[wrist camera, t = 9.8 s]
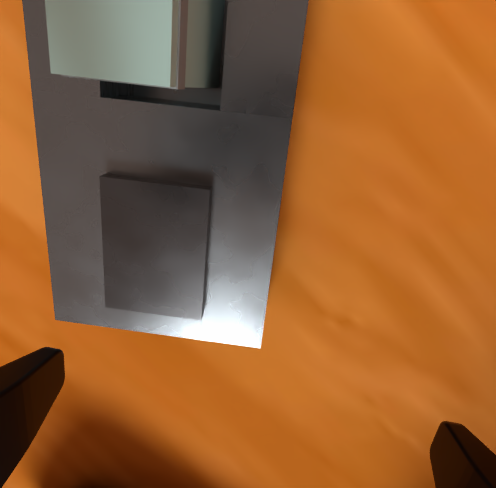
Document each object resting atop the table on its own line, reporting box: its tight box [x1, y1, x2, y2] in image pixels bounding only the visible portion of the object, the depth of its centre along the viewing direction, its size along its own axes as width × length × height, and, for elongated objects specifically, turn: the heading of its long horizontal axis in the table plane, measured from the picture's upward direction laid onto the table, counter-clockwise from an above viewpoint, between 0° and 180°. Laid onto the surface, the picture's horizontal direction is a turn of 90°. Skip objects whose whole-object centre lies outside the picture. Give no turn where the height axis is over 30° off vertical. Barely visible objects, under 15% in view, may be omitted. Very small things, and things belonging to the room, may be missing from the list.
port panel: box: [22, 0, 309, 348], centre depth 17 cm, size 10×18×5 cm, turn 174°
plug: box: [45, 0, 225, 89], centre depth 13 cm, size 3×5×8 cm
